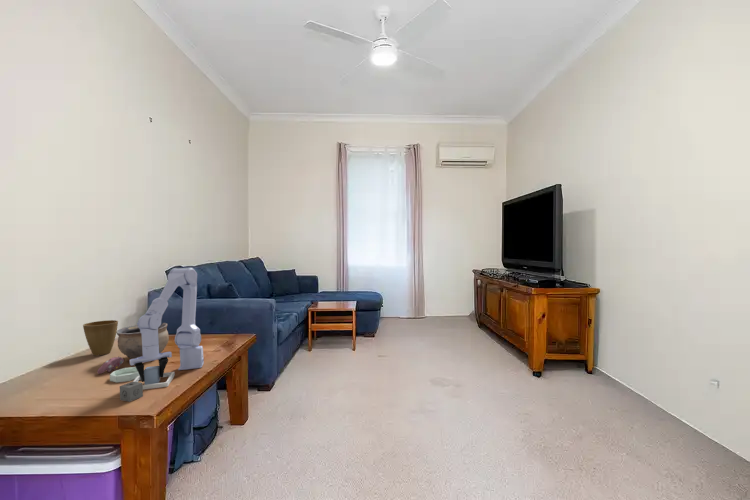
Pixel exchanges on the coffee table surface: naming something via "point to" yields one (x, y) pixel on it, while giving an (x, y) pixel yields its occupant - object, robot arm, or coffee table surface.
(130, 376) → the ceramic dish
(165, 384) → the white flat frame piece
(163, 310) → the robot arm
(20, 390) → the coffee table surface
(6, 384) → the coffee table surface
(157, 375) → the slate block
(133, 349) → the ceramic bowl
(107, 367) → the video game controller
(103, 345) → the plant pot
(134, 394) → the dice cube
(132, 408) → the coffee table surface
